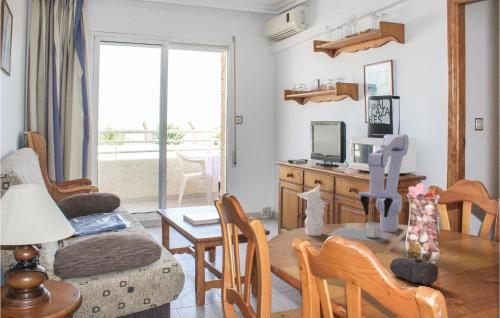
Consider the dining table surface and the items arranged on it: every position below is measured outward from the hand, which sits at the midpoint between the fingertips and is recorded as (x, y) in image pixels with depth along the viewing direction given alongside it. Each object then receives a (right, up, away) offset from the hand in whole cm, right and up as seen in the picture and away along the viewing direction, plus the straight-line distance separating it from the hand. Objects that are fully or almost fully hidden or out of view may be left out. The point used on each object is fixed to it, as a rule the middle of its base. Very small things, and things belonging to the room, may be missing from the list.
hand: (376, 215), depth 177 cm
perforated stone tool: (-2, -14, -45) cm, 47 cm away
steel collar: (-1, -8, +1) cm, 8 cm away
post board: (-5, -10, +6) cm, 13 cm away
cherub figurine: (-26, -10, +9) cm, 29 cm away
